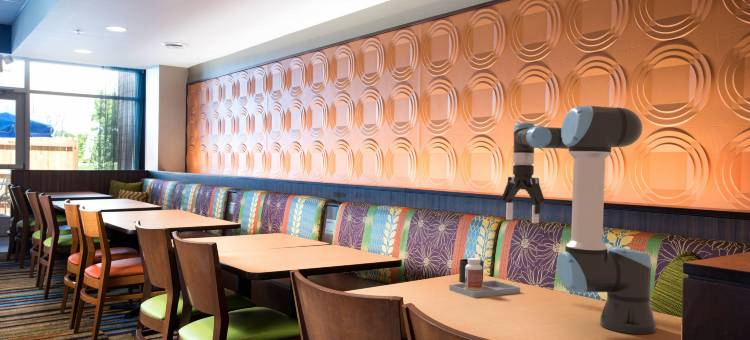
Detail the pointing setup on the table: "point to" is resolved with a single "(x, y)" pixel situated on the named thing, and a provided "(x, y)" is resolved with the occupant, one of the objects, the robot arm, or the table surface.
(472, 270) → the pill bottle
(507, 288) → the caddy
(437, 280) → the table surface
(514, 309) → the table surface
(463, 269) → the mug
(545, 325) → the table surface
